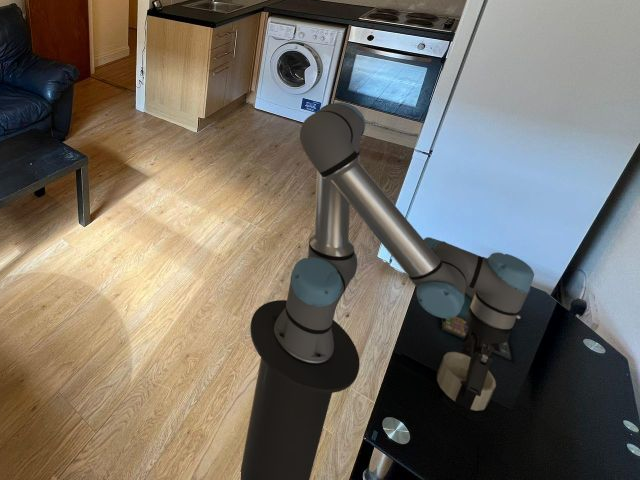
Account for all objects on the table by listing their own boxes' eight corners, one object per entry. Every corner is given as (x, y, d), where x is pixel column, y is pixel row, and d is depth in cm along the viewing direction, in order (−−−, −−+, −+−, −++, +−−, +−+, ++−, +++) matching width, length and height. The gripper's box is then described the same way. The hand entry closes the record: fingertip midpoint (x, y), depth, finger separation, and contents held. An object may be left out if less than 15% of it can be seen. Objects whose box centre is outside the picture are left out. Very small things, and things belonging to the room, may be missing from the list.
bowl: (435, 394, 98) (443, 373, 96) (436, 364, 106) (444, 344, 104) (487, 421, 93) (497, 399, 91) (484, 388, 100) (493, 367, 98)
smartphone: (510, 360, 108) (512, 356, 108) (441, 330, 116) (442, 327, 116) (506, 339, 114) (507, 336, 114) (441, 312, 123) (442, 309, 122)
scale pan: (458, 294, 125) (459, 293, 125) (458, 273, 134) (458, 272, 134) (508, 313, 119) (508, 312, 119) (504, 290, 128) (504, 289, 127)
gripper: (519, 362, 81) (484, 438, 88) (507, 296, 98) (479, 363, 105) (471, 341, 86) (442, 415, 92) (468, 281, 103) (443, 347, 110)
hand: (461, 387), depth 99 cm, fingers closed on bowl, 10 cm apart
